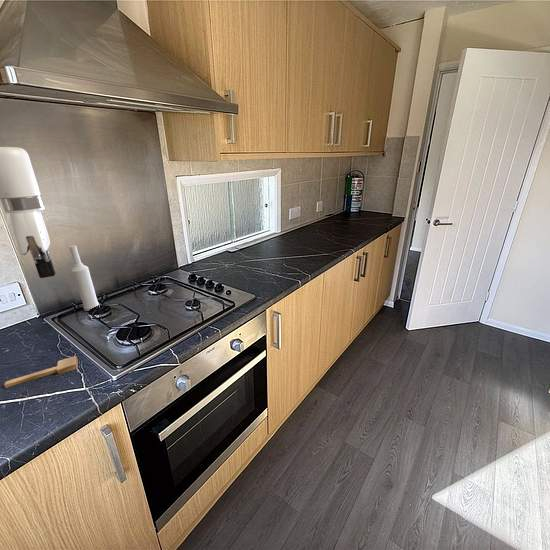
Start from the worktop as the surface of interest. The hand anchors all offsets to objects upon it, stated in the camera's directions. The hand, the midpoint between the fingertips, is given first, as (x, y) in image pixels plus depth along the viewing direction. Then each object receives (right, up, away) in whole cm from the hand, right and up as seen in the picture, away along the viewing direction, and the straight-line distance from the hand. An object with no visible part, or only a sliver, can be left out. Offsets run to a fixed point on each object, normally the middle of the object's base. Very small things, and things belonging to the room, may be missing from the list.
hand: (47, 275), depth 76 cm
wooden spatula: (-3, -27, +3) cm, 27 cm away
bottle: (-11, -13, +36) cm, 39 cm away
